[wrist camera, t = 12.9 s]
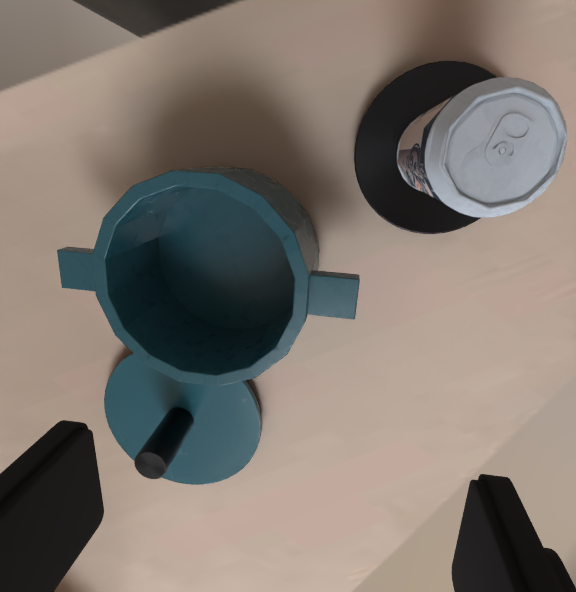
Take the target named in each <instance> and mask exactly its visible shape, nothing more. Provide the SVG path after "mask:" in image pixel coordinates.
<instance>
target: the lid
mask: <svg viewBox="0 0 576 592" xmlns="http://www.w3.org/2000/svg"><path fill="white" fill-rule="evenodd" d="M104 403H105V413H106V418H107V421H108V424H109V427H110V429H111V431H112V433H113V435H114V437H115V439H116V440H117V442H118V443H119V445H120V446H121V447H122V449H123V450H124V451H125V452H126V453H127V454H128V455H129V456H130V457H131V458H132V459H133V460H134V461H135V467H136V469H137V471H138V472H139V473H140V474H141V475H143V476H144V477H147V478H150V479H158V478H161V477H162V478H165V479H168V480H171V481H174V482H179V483H183V484H210V483H215V482H219V481H222V480H224V479H227V478H229V477H231V476H233V475H234V474H236V473H237V472H239V471H240V470H241V469H243V468H244V467H245V465H246V464H247V463H248V462H249V461H250V459H251V458H252V457H253V455H254V453H255V451H256V449H257V446H258V443H259V439H260V436H261V428H262V423H261V413H260V408H259V405H258V402H257V399H256V397H255V395H254V393H253V391H252V389H251V387H250V386H249V384H248V383H247V381H246V380H244V381H240V382H235V383H231V384H227V385H223V386H211V385H203V384H196V383H188V382H181V381H178V380H176V379H174V378H172V377H170V376H168V375H166V374H164V373H162V372H160V371H158V370H156V369H154V368H152V367H150V366H148V365H146V364H144V363H143V362H142V361H141V360H140V359H139V358H138V357H137V356H136V355H135V354H134V353H131V354H130V355H129V356H127V357H126V358H125V359H124V360H122V361H121V363H120V364H119V365H118V366H117V367H116V368H115V370H114V371H113V372H112V374H111V376H110V378H109V380H108V383H107V387H106V390H105V398H104Z"/></svg>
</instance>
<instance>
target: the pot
mask: <svg viewBox="0 0 576 592" xmlns="http://www.w3.org/2000/svg"><path fill="white" fill-rule="evenodd" d="M57 253H58V261H59V268H60V276H61V284H62V288H70V289H79V290H88V291H96V296H97V299H98V301H99V303H100V305H101V307H102V309H103V311H104V313H105V315H106V317H107V319H108V321H109V323H110V325H111V327H112V329H113V332H114V333H115V335H116V336H117V337H118V338H119V339H120V340H121V341H122V342H123V343H124V344H125V345H126V346H127V347H128V348H129V349H130V350H131V351H132V352H133V353H134V354H135V355H136V356H137V357H138V358H139V359H140V360H141V361H142V362H143V363H144V364H146V365H148V366H150V367H152V368H154V369H156V370H158V371H160V372H162V373H164V374H166V375H168V376H170V377H172V378H174V379H176V380H178V381H181V382H188V383H196V384H203V385H211V386H223V385H227V384H231V383H235V382H240V381H244V380H248V379H252V378H255V377H257V376H259V375H260V374H261V373H263V372H264V371H265V370H267V369H268V368H269V367H271V366H272V365H273V364H275V363H276V362H278V361H279V360H280V359H282V358H283V357H284V356H286V355H287V354H288V352H289V350H290V348H291V346H292V345H293V343H294V341H295V339H296V337H297V336H298V334H299V332H300V330H301V328H302V326H303V325H304V323H305V321H306V318H307V314H309V315H318V316H327V317H336V318H346V319H355V314H356V306H357V297H358V289H359V281H360V279H359V275H357V274H346V273H336V272H326V271H318V259H319V247H318V244H317V240H316V236H315V232H314V229H313V226H312V224H311V221H310V219H309V216H308V214H307V213H306V212H305V210H304V209H303V207H302V206H301V205H300V203H299V202H298V201H297V199H296V198H295V197H294V196H293V195H292V194H291V193H290V192H289V191H288V190H287V189H286V188H285V187H283V186H282V185H280V184H279V183H277V182H276V181H274V180H272V179H271V178H269V177H267V176H265V175H262V174H260V173H258V172H255V171H253V170H251V169H243V168H228V167H205V168H193V169H181V170H171V171H169V172H166V173H164V174H161V175H159V176H156V177H153V178H151V179H148V180H146V181H143V182H141V183H138V184H136V185H133V187H131V188H130V189H129V190H128V191H127V192H126V193H125V194H124V196H123V197H122V198H121V199H120V200H119V201H118V202H117V203H116V204H115V205H114V206H113V208H112V209H111V210H110V211H109V212H108V213H107V214H106V215H105V217H104V218H103V222H102V225H101V228H100V231H99V235H98V238H97V241H96V244H95V248H94V249H86V248H75V247H65V248H62V249H59V250H57Z"/></svg>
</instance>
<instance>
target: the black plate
mask: <svg viewBox="0 0 576 592" xmlns="http://www.w3.org/2000/svg"><path fill="white" fill-rule="evenodd" d="M492 78H498V77H497V76H495V75H494V74H492V73H491V72H489V71H487V70H486V69H484V68H481V67H479V66H477V65H474V64H470V63H466V62H460V61H438V62H433V63H428V64H425V65H422V66H418V67H416V68H414V69H412V70H409V71H407V72H405V73H404V74H402V75H401V76H399V77H397V78H396V79H395V80H393V81H392V82H391V83H390V84H388V85H387V86H386V87H385V88H384V89H383V90H382V91H381V92H380V93H379V94H378V95H377V97H376V98H375V99H374V101H373V102H372V103H371V105H370V107H369V108H368V110H367V112H366V113H365V115H364V117H363V120H362V122H361V124H360V127H359V130H358V134H357V137H356V143H355V152H354V162H355V171H356V176H357V180H358V183H359V186H360V189H361V191H362V193H363V195H364V197H365V199H366V200H367V201H368V203H369V204H370V206H371V207H372V208H373V209H374V210H375V211H376V212H377V213H378V214H379V215H380V216H381V217H382V218H384V219H385V220H386V221H388V222H389V223H391V224H393V225H394V226H397V227H399V228H401V229H404V230H407V231H411V232H415V233H422V234H437V233H445V232H450V231H454V230H457V229H460V228H462V227H465V226H467V225H469V224H471V223H473V222H475V221H477V220H478V219H480V218H481V217H472V216H469V215H465V214H462V213H459V212H458V211H456V210H454V209H452V208H451V207H449V206H447V205H446V204H444V203H443V202H442V201H440V200H438V199H436V198H434V197H432V196H430V195H428V194H426V193H424V192H422V191H419V190H417V189H415V188H414V187H412V186H410V185H409V184H408V183H407V182H406V181H405V179H404V178H403V177H402V175H401V172H400V170H399V168H398V164H397V149H398V144H399V141H400V138H401V136H402V134H403V133H404V131H405V130H406V128H407V127H408V126H409V125H410V124H411V123H412V122H413V121H414V120H415V119H416V118H418V117H419V116H420V115H422V114H424V113H425V112H427V111H429V110H431V109H432V108H434V107H436V106H437V105H439V104H441V103H442V102H444V101H446V100H447V99H449V98H451V97H453V96H454V95H456V94H458V93H459V92H461V91H463V90H465V89H466V88H468V87H470V86H472V85H474V84H477V83H480V82H483V81H486V80H489V79H492Z"/></svg>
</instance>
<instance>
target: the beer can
mask: <svg viewBox="0 0 576 592" xmlns="http://www.w3.org/2000/svg"><path fill="white" fill-rule="evenodd" d="M566 142H567V129H566V122H565V120H564V117H563V115H562V112H561V110H560V108H559V106H558V104H557V102H556V101H555V100H554V98H553V97H552V96H551V95H550V94H549V93H548V92H547V91H546V90H545V89H543V88H542V87H540V86H538V85H536V84H535V83H533V82H530V81H526V80H523V79H519V78H511V77H507V78H492V79H489V80H486V81H483V82H480V83H477V84H474V85H472V86H470V87H468V88H466V89H465V90H463V91H461V92H459V93H458V94H456V95H454V96H453V97H451V98H449V99H447V100H446V101H444V102H442V103H441V104H439V105H437V106H436V107H434V108H432V109H431V110H429V111H427V112H425V113H424V114H422V115H420V116H419V117H418V118H416V119H415V120H414V121H413V122H412V123H411V124H410V125H409V126H408V127H407V128H406V130H405V131H404V133H403V134H402V136H401V138H400V141H399V144H398V149H397V164H398V168H399V170H400V172H401V175H402V177H403V178H404V179H405V181H406V182H407V183H408V184H409V185H410V186H412V187H414V188H415V189H417V190H419V191H422V192H424V193H426V194H428V195H430V196H432V197H434V198H436V199H438V200H440V201H442V202H443V203H444V204H446V205H447V206H449V207H451V208H452V209H454V210H456V211H458V212H459V213H462V214H465V215H469V216H472V217H487V218H490V217H497V216H501V215H505V214H509V213H512V212H514V211H516V210H519V209H521V208H523V207H525V206H526V205H528V204H529V203H531V202H532V201H533V200H535V199H536V198H537V197H538V196H539V195H541V194H542V193H543V192H544V191H545V189H546V188H547V187H548V185H549V184H550V183H551V182H552V180H553V179H554V178H555V176H556V174H557V172H558V170H559V168H560V166H561V164H562V161H563V159H564V154H565V149H566Z"/></svg>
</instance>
